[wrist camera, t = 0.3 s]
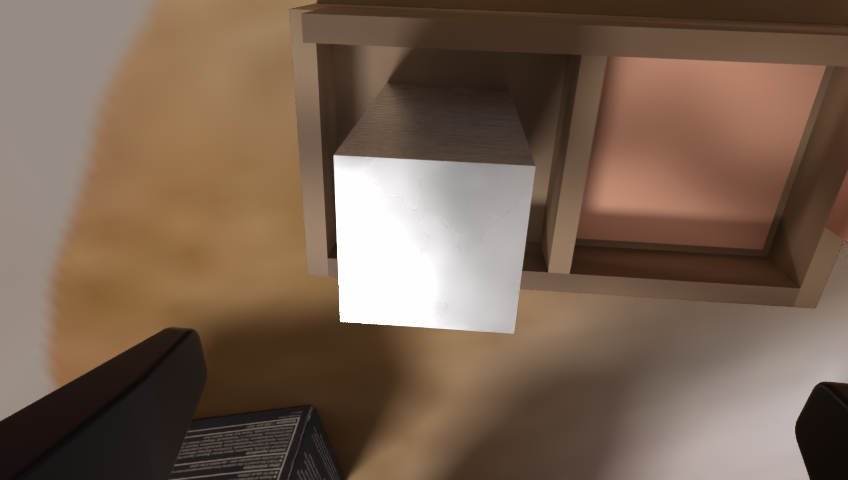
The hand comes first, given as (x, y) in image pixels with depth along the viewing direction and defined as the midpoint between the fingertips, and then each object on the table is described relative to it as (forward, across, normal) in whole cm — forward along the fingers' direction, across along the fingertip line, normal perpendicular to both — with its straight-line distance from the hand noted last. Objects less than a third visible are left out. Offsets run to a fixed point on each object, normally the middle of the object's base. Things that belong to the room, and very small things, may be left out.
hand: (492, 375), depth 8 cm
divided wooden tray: (+15, -3, +2) cm, 15 cm away
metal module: (+14, +2, +2) cm, 14 cm away
